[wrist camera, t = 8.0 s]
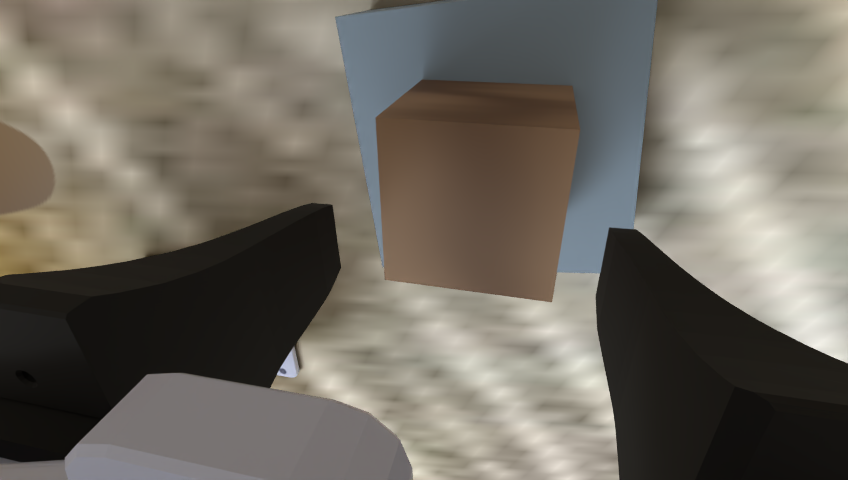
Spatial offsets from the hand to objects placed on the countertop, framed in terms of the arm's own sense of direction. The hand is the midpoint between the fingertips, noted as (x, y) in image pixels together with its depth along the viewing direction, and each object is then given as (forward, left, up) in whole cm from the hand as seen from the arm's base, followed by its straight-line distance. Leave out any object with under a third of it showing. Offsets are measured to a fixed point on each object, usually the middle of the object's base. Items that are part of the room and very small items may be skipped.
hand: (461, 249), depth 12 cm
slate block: (0, +1, -10) cm, 10 cm away
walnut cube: (0, +1, -6) cm, 6 cm away
